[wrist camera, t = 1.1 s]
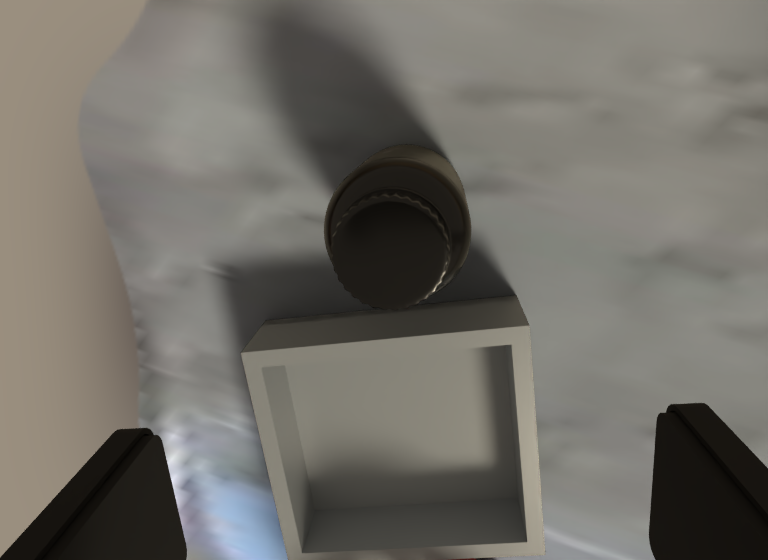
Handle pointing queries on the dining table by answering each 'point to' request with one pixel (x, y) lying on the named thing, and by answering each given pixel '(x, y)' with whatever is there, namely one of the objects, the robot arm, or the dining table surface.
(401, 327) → the tray
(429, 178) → the supplement bottle
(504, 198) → the dining table surface
